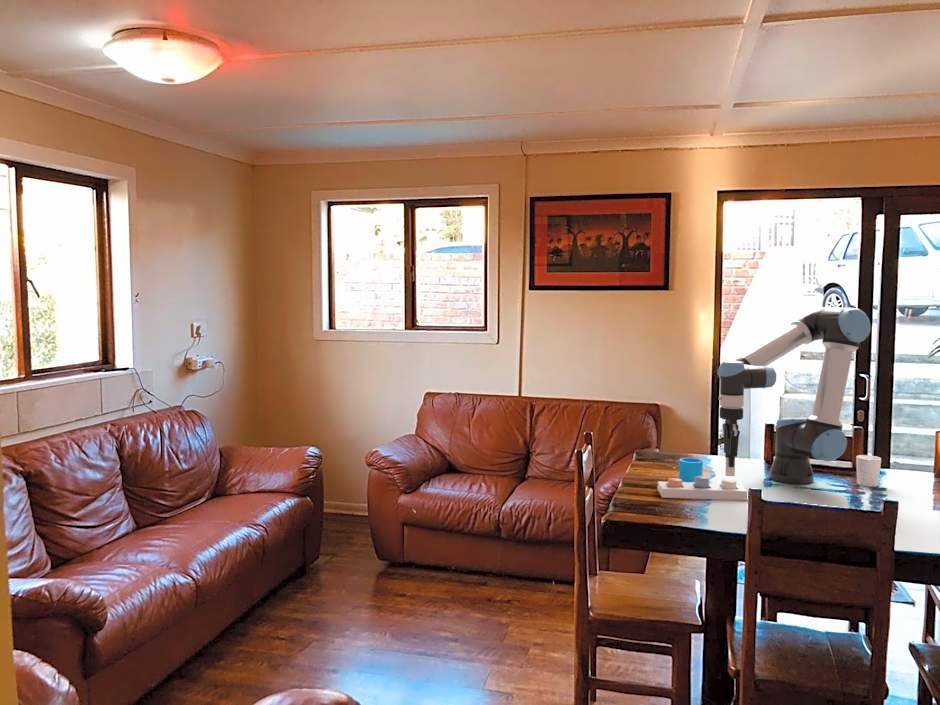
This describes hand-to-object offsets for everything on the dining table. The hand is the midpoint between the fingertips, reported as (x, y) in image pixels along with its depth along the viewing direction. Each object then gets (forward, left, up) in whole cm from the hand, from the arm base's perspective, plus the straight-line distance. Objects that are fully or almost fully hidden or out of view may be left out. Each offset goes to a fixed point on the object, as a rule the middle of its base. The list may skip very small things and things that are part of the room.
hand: (730, 475), depth 250 cm
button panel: (+9, 0, -7) cm, 12 cm away
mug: (+10, -19, -7) cm, 23 cm away
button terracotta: (+18, 0, -6) cm, 19 cm away
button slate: (+9, 0, -5) cm, 11 cm away
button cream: (0, 0, -6) cm, 6 cm away
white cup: (-54, -21, -7) cm, 58 cm away
